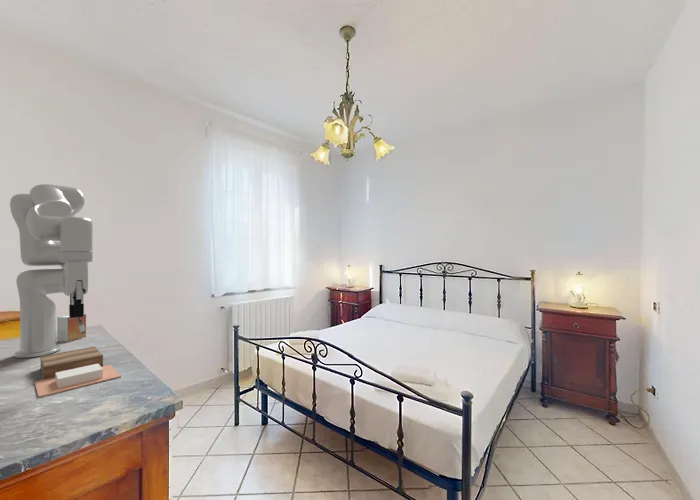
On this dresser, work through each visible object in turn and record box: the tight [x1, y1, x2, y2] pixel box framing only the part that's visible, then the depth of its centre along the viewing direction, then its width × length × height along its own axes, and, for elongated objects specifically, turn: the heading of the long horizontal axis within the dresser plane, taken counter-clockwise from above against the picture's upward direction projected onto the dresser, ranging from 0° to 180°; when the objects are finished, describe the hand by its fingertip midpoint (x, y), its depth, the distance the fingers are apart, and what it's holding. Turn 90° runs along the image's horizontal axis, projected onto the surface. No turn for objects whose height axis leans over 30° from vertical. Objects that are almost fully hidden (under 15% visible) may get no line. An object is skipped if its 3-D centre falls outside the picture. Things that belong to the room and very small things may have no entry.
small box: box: [56, 313, 87, 343], centre depth 137 cm, size 8×6×10 cm
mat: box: [34, 364, 122, 399], centre depth 94 cm, size 14×18×1 cm
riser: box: [40, 346, 104, 380], centre depth 104 cm, size 14×14×4 cm
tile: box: [55, 364, 103, 388], centre depth 94 cm, size 7×10×2 cm
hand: (76, 316), depth 96 cm, fingers closed
